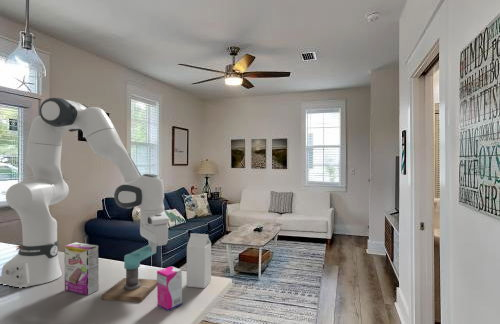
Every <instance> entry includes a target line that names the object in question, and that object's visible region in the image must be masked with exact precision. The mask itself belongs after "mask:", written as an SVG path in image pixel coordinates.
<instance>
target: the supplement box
mask: <svg viewBox="0 0 500 324" xmlns="http://www.w3.org/2000/svg"><path fill="white" fill-rule="evenodd" d="M182 274H183V273H182V269H181V268H177V267H175V266H168V267H165V268H162V269H159V270H157V271H156V280H157V286H156V287H157V291H156V292H157V293H156V295H157V296H156V297H157V306H158V307H160V308H162V309H163V310H165V311H167V312H169V311H171V310H173V309H176V308H178V307H179V306H181V305H183V288H182V287H183V286H182V284H183V283H182V276H183V275H182Z"/></svg>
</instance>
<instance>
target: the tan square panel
mask: <svg viewBox="0 0 500 324" xmlns="http://www.w3.org/2000/svg"><path fill="white" fill-rule="evenodd" d="M125 273H126V274H125V277H123V278H122V279H121V280H119V281H118V282H116V283H115V284H114V285H113V286H111V287H110V288H109V289H107V290H106V291H105V292H104V293H102V295H101V300H106V301H107V300H108V301H109V300H111V301H124V302H125V301H126V302H138V303H139V302H140V303H141V302H143V301H145V299H146V297H148V296H149V295H150V294H151V293H152V292H153V291H154V289H156V287H157V279H152V278H151V279H150V278H149V279H148V278H139V267H138V268H136V269H125Z"/></svg>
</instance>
